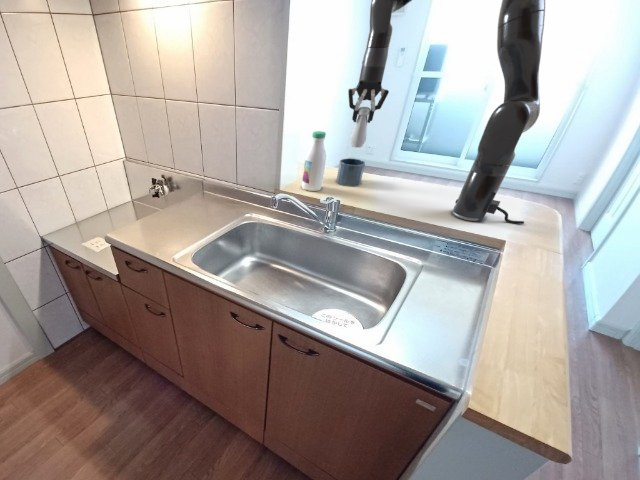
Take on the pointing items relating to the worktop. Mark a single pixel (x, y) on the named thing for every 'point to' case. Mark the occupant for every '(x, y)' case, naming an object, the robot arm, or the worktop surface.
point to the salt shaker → (360, 128)
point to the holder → (350, 172)
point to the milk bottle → (314, 163)
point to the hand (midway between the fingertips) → (361, 121)
